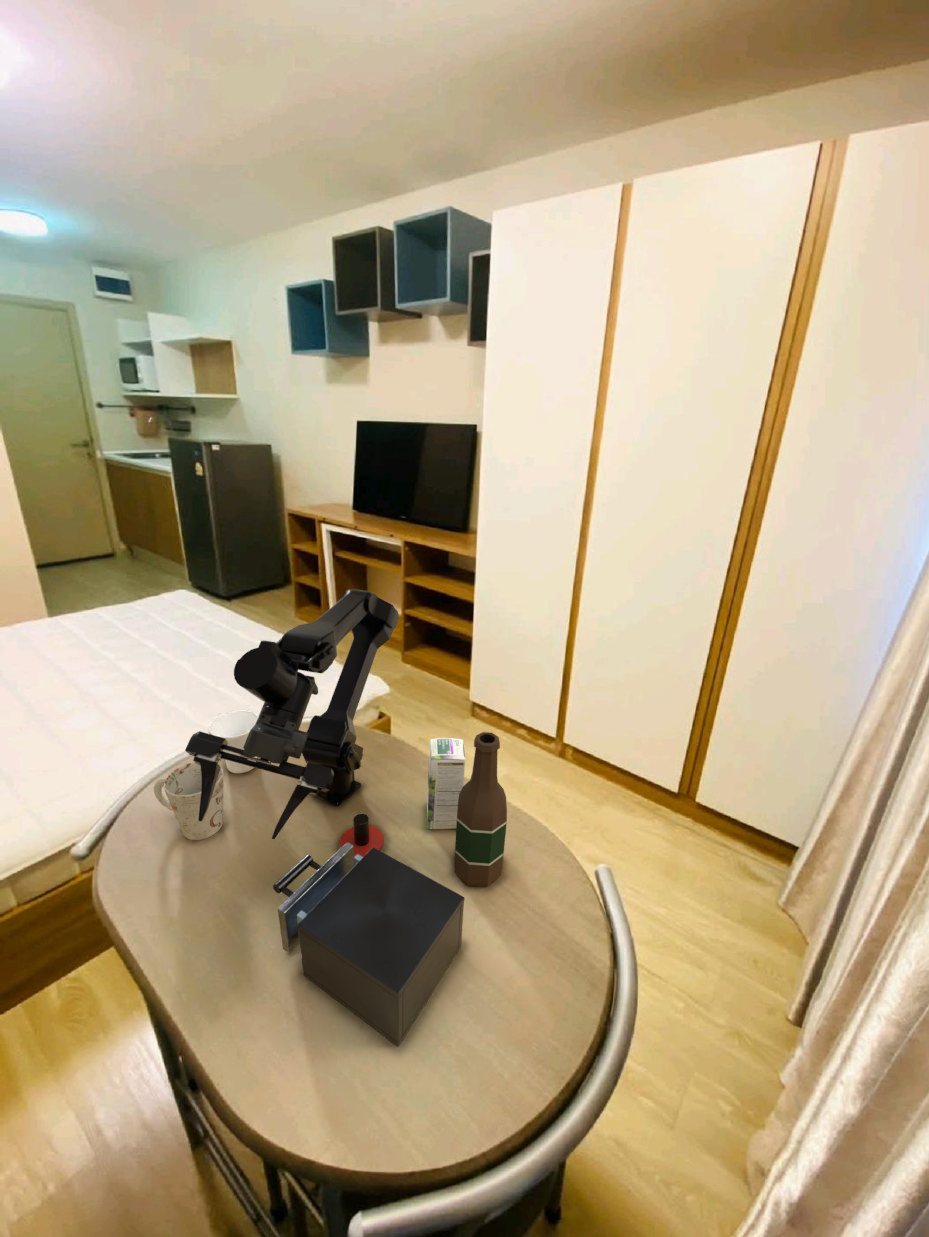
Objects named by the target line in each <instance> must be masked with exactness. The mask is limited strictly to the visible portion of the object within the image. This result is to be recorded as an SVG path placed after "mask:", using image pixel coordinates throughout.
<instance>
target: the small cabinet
mask: <svg viewBox="0 0 929 1237" xmlns="http://www.w3.org/2000/svg"><path fill="white" fill-rule="evenodd" d="M464 905H465V897H464V896H463V895H461V894H460V893H457V892H455V891H454V890H452V889H451V888H448V887H446V886H445V885H443V884H441V883H440V882H438V881H436V880H434V879H432V878H430V877H428V876H427V875H425V874H423V873H421V872H420V871H417V870H416V869H414V868H413V867H410V866H408V865H407V864H405V863H403V862H401V861H400V860H397V859H395V858H394V857H392V856H391V855H388V854H387V853H385V852H383V851H382V850H381V851H379V850H378V849H376V848H374V847H373V848H372V849H371V850H370V851H369V852H368V853H367V854H366V855H365V856H364V857H363V858H362V859H361V860H360V861H359V862H358V863H357V864H356V865H355V866H354V867H353V868H352V869H351V870H350V871H349V872H348V873H347V874H346V875H345V877H344V878H343V879H342V880H341V881H340V882H339V883H338V884H337V885H336V886H335V887H334V888H333V889H332V890H331V891H330V892H329V893H328V894H327V895H326V896H325V897H324V898H323V899H322V900H321V901H320V902H319V903H318V904H317V905H316V906H315V907H314V908H313V909H312V910H311V911H310V912H309V913H308V914H307V915H306V916H305V917H304V919H303V920H302V921H301V922H300V923H299V924H298V929H299V938H300V943H299V948H300V947H301V949H300V955H301V966H302V972H303V973H302V974H303V977H305V978H306V979H307V980H309V981H310V982H311V983H312V984H314V985H315V986H317V988H319V989H321V990H322V991H323V992H325V993H326V994H327V995H329V996H330V997H331V998H332V999H334V1000H335V1001H337V1002H338V1003H339V1004H341V1005H342V1006H343V1007H345V1008H346V1009H348V1010H349V1011H350V1012H351V1013H352V1014H354V1015H355V1016H357V1017H358V1018H359V1019H360V1020H362V1021H363V1022H365V1023H366V1024H367V1025H368V1026H370V1027H371V1028H373V1030H375V1031H377V1032H378V1033H379V1034H380V1035H381V1036H383V1037H384V1038H385V1039H386V1040H388V1041H390V1042H391V1043H392V1044H394V1045H395V1046H397V1047H398V1048H399V1047H400V1045H401V1044H402V1042H403V1041H404V1039H405V1037H406V1036H407V1034H408V1032H409V1031H410V1029H411V1028H412V1027H413V1025H414V1023H415V1022H416V1020H417V1018H418V1016H419V1015H420V1013H421V1012H422V1010H423V1008H424V1007H425V1005H426V1004H427V1002H428V1001H429V999H430V997H431V996H432V994H433V992H434V991H435V989H436V988H437V986H438V984H439V983H440V982H441V979H442V978H443V977H444V975H445V973H446V972H447V970H448V968H450V965H451V964H452V963H453V960H454V959H455V957H456V956H457V954H458V953H459V951H460V949H461V948H462V938H463V937H462V936H463V923H464V921H463V920H464V908H465V906H464Z"/></svg>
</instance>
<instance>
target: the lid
mask: <svg viewBox="0 0 929 1237" xmlns="http://www.w3.org/2000/svg"><path fill="white" fill-rule="evenodd" d="M352 821H353V823H352V824H353V826H352V827H350V828H348V829H347V830H346V831H344V832H343V833H342V835H341V837H340V839H339V850H340V849H341V848H342V847H343V846H344V845H345V844H346V843H347V842H348V843H350V844H352V845H353V846H354V857H355V856H356V855H357V854H358V855H360V856H362V857H364V856H365V855H366V854H367V853H368V852H369V851H370V850H371V849H372V848H373V847H374V848H376V849H378V850H379V851H381V852H382V849H383V848H384V845H385V837H384V834H383V832H382V830H381V829H380V828H378V827H377V826H375V825H372V824H370V818H369V815H368V814H366V813H358V814H356V815H355V816H354V817H353V818H352Z"/></svg>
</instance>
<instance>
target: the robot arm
mask: <svg viewBox="0 0 929 1237" xmlns="http://www.w3.org/2000/svg"><path fill="white" fill-rule="evenodd" d="M399 619H400V618H399V611H398V610H397V609H396V608H395V606H394V604H392V603H390V602H388V601H386V600H385V599H382V598H381V597H378V595H377V594H376V593H375V592H372V591H370V590H363V589H356V588H351V589H347V590H346V591H345V593H344V595H343V597H342V598H340V600H338V601H337V602H336V603H335V604H334V605H332V606H331V607H330V608H329V609H328V610H327V611H326V612H324V613H323V614H322V615H321V616H320V617H319V618H317V619H316V620H314V621H313V622H308V623H303V624H299V625H296V626H294V627H292V628H290V629H288V630H287V631H286V632H285V633H284V634H282V637H281V638H280V639H278V640H277V641H271V640H265V639H262V640H261V641H260V642H259V645H258V647H255V648H252V649H250V650H248V651H247V652H246V653H244V654H243V655H242V656H241V657H240V658H239V659H237V660H236V663H235V665H234V668H233V678H234V681H235V682H236V684H238V685H239V686H240V687H241V688H242V689H244V690H245V691H246V692H248V693H250V694H251V695H253V696H254V697H255V698H257V699H259V700H260V701H262V702H263V704H262V707H261V709H260V711H259V715H258V719H257V721H256V724H255V725H254V726H253V728H252V729H251V730H250V732H249V735H248V737H247V739H246V742H245V744H244V747H243V748H244V750H242V749H239V748H235V747H231V746H228V745H227V744H228V742H227V740H226V739H225V738H222V737H218V736H215V735H211V734H209V732H208V733H207V732H203V731H197V732H194V733H193V734H192V735H191V737H190V738H189V741H188V742H187V745H186V747H185V749H184V751H185V752H186V753H187V754H188V755H189V756H192V757H193V760H192V762H195V763H196V764H198V765H200V766H201V777H202V789H201V799H200V809H199V819H198V821H203V819H204V816H205V814H206V812H207V810H208V807H209V804H210V801H211V797H212V794H213V791H214V788H215V784H216V781H217V778H218V775H219V772H220V768H221V767H222V766H221V765H220V764H219V762H222V760H229V761H232V762H236V763H240V764H243V765H247V766H251V767H254V768H255V769H258V770H262V771H265V772H270V773H273V774H277V775H280V776H284V777H288V778H291V779H295V780H298V783H299V784H298V783H297V784H296V786H295V787H294V790H293V791H292V793H291V795H290V797H289V799H288V801H287V804H286V805H285V807H284V809H283V811H282V813H281V815H280V817H279V819H278V821H277V823H276V825H275V827H274V830H273V832H272V835H271V840H275V839H276V838H277V836H278V835H279V834H280V832H281V831H282V829H283V828H284V827H285V825H286V823H287V822H288V820H289V819H290V817H291V816H292V815H293V813H294V812H295V810H297V808H298V807H299V806H300V805H301V804H302V802H303V801H304V800H305V799H306V798H307V797H308V796H313V797H318V798H319V799H321V800H323V801H325V802H327V803H329V804H331V805H333V806H334V807H339V806H341V805H342V804H343V803H344V802H346V800H348V799H349V798H350V797H351V796H353V794H355V793H356V792H357V791H358V790H359V789H360V788H362V783H361V782H360V781H357V780H355V771H356V770H359V769H361V767H362V762H361V761H362V759H363V756H364V747H362V746H360V745H359V744H356V741H357V733H356V728H355V724H354V718H355V715H356V712H357V709H358V708H359V704H360V701H361V698H362V695H363V692H364V689H365V686H366V683H367V681H368V678H369V674H370V672H371V669H372V665H373V663H374V660H375V657H376V654H377V652H378V649H380V648H381V647H382V646H383V645H384V644H386V643H387V642H388V641H390V639H391V637H392V634H393V633H394V630H395V629H396V628H397V626H398V623H399ZM350 632H352V636H353V639H352V642H351V645H350V648H349V651H348V653H347V656H346V659H345V662H344V664H343V666H342V669H341V672H340V675H339V677H338V680H337V683H336V685H335V688H334V691H333V693H332V696H331V699H330V701H329V704H328V707H327V709H326V711H325V712H323V713H322V714H321V715H315V714H314V716H313V717H312V718H311V719H310V723H309V726H308V729H307V731H303V730H300V727H301V724H302V722H303V719H304V716H305V713H306V711H307V708H308V706H309V703H310V700H311V697H312V695H314V696H317V695H318V694H319V687H318V685H317V683H316V679H315V676H311V675H305V674H304V673H302V672H300V671H303V672H308V673H309V672H310V673H315V674H324V673H325V672H326V671H327V670H328V669H329V668H330V667H331V666H332V665H333V663H334V660H336V658H337V656H338V653H337V652H338V650H337V646H338V645H339V644H340V642H342V640H343V639H344V638H346V636H347V635H349V633H350ZM255 756H257V758H254V757H255ZM301 756H302V757H303V759H304V761H305V763H306V764H305V766H303V765H299V764H295V763H293V762H288V761H289V758H290V757H291V758H294V759H296V760H297V759H298V760H300V759H301ZM248 759H250V760H253V761H250V760H248ZM254 761H256V762H254ZM272 763H273V764H272ZM276 764H278V765H276ZM254 768H253V769H254Z"/></svg>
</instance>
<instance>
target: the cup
mask: <svg viewBox="0 0 929 1237" xmlns="http://www.w3.org/2000/svg"><path fill="white" fill-rule="evenodd" d="M258 716H259V715H258V714H257V713H256V712H254V711H250V710H244V709H243V710H241V709H240V710H239V709H238V710H232V711H228V712H224V713H218V714H217V716H216V717H215V718H214V719H213V720H212V721H211V722H209V725H208V728H207V731H208V734H211V735H215V736H218V737H222V738H225V739H226V740H227V742H228V744H227V745H228V746H231V747H235V748H239V749H242V750H244V748H243V747H244V744H245V742H246V739H247V737H248V735H249V732H250V730H251V729H252V728H253V726H254V725H255V724H256V721H257V719H258ZM254 758H257V759H258V757H257V756H255V757H254ZM224 760H225V759H224ZM248 760H250V759H248ZM250 761H253V760H250ZM254 762H256V761H254ZM225 764H226V769H227V770H228V771H229V772H230V773H232V774H244V773H248V772H250V771H252V770H253V769H254V767H251V766H247V765H243V764H240V763H236V762H232V761H229V760H225Z"/></svg>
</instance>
